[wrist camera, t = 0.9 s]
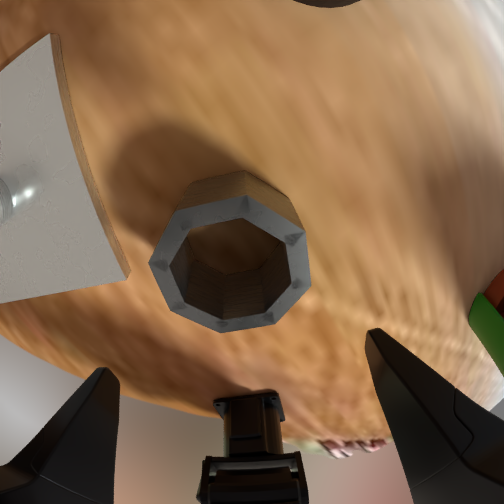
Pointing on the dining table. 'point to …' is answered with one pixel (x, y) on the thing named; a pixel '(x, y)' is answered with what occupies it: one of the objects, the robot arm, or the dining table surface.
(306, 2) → the coffee mug
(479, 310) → the motor
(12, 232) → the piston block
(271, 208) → the octagonal hollow lampshade
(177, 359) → the dining table surface
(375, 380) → the robot arm
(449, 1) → the dining table surface
